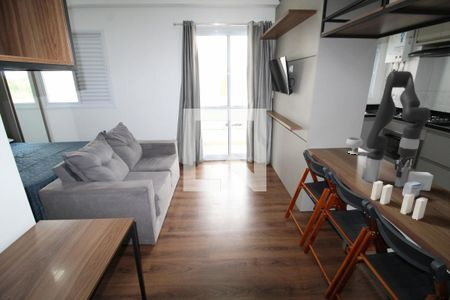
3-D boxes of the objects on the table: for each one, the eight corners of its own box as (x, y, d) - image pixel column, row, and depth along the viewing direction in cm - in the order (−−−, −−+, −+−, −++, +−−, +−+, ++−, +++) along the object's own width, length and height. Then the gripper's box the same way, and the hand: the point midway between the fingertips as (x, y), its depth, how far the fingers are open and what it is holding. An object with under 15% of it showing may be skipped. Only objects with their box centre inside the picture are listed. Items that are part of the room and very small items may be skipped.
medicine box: (409, 198, 132) (412, 185, 129) (401, 195, 136) (404, 182, 133) (418, 196, 134) (421, 183, 131) (410, 193, 138) (413, 180, 135)
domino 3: (394, 185, 119) (398, 166, 116) (400, 183, 121) (404, 165, 118) (399, 187, 117) (403, 168, 114) (404, 185, 119) (409, 166, 116)
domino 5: (411, 217, 113) (416, 199, 110) (417, 215, 115) (422, 197, 112) (416, 220, 111) (421, 201, 108) (422, 217, 113) (427, 199, 110)
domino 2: (379, 202, 128) (383, 186, 125) (385, 200, 130) (388, 184, 127) (383, 204, 126) (387, 187, 123) (389, 202, 128) (392, 185, 125)
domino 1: (370, 198, 133) (373, 182, 130) (376, 196, 135) (379, 180, 131) (374, 200, 131) (377, 183, 128) (379, 198, 133) (383, 182, 130)
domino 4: (400, 212, 118) (404, 194, 115) (406, 210, 120) (410, 192, 117) (404, 214, 116) (409, 196, 113) (410, 212, 118) (415, 194, 115)
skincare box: (424, 186, 145) (428, 172, 142) (430, 191, 140) (434, 176, 136) (406, 185, 148) (409, 170, 145) (410, 189, 142) (414, 174, 139)
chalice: (364, 154, 210) (367, 139, 206) (352, 156, 207) (355, 141, 203) (352, 150, 223) (355, 136, 219) (341, 152, 220) (343, 137, 215)
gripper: (408, 142, 118) (402, 171, 123) (392, 146, 113) (386, 176, 118) (425, 146, 112) (417, 176, 117) (408, 150, 106) (401, 181, 111)
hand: (401, 176), depth 117 cm, fingers closed on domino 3, 5 cm apart
